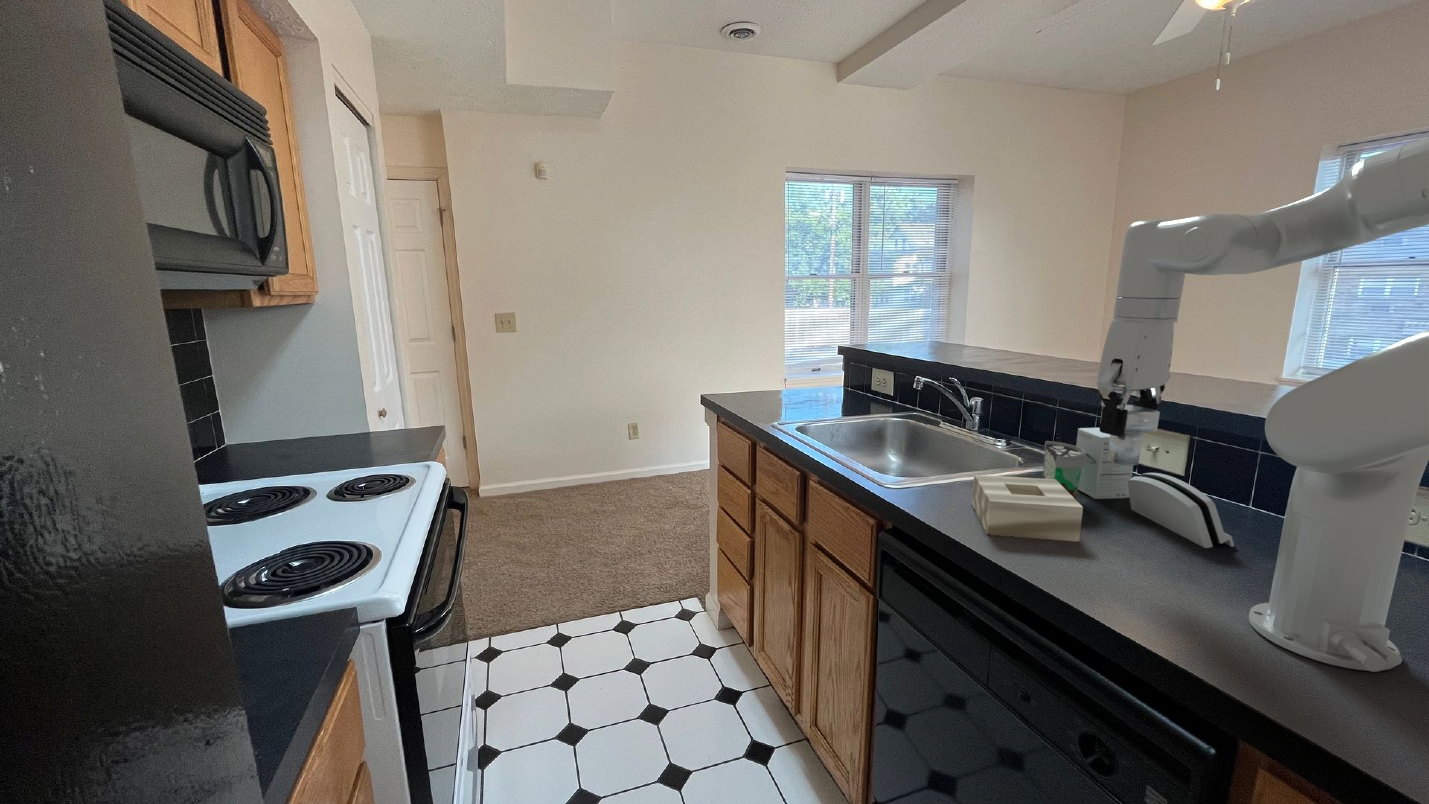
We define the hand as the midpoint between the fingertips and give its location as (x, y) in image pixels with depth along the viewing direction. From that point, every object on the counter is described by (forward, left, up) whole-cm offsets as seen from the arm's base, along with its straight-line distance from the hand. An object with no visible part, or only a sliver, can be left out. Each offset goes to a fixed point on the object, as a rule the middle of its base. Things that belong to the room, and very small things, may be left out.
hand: (1127, 430), depth 89 cm
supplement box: (+31, -9, -20) cm, 38 cm away
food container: (+26, -1, -20) cm, 33 cm away
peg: (0, 0, -5) cm, 5 cm away
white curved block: (+14, -15, -21) cm, 29 cm away
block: (+12, +10, -20) cm, 25 cm away
